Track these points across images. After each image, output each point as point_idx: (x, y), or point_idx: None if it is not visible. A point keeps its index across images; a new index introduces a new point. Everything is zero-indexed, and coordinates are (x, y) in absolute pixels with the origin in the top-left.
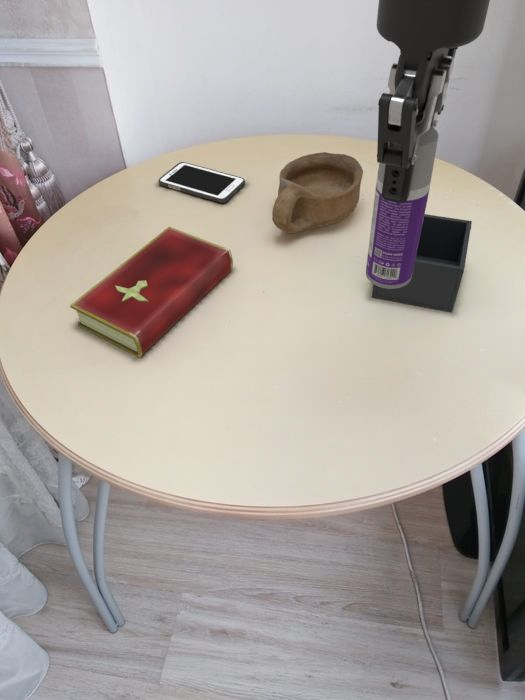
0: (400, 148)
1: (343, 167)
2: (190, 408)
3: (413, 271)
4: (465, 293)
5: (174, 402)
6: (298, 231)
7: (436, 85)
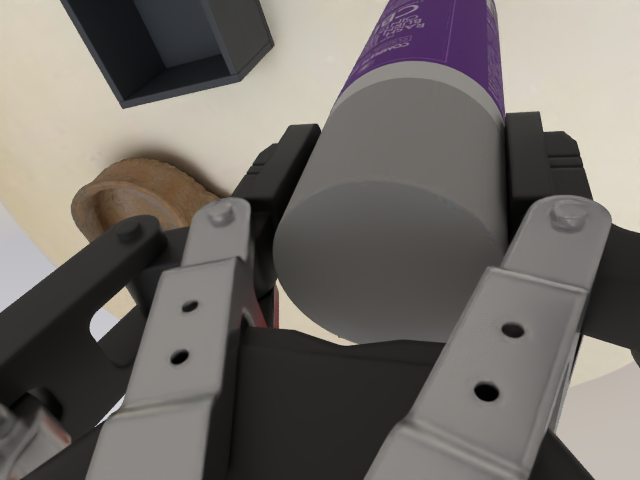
0: (626, 309)
1: (93, 212)
2: (620, 177)
3: (221, 1)
4: None
5: (615, 200)
6: None
7: None
